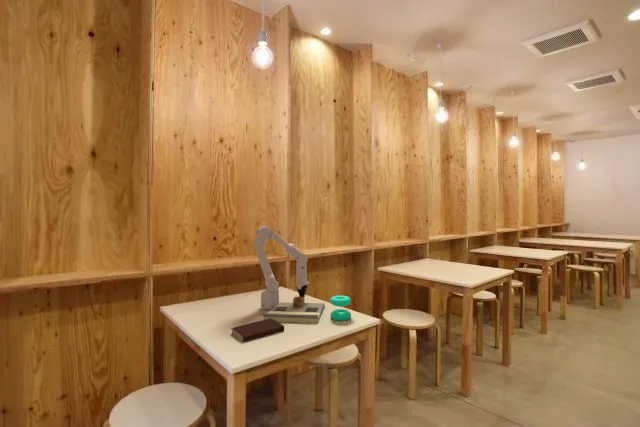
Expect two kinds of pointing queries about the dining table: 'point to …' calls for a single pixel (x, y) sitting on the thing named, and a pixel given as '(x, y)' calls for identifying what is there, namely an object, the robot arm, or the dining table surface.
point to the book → (257, 329)
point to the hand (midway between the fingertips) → (302, 299)
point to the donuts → (340, 313)
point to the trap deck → (295, 312)
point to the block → (298, 302)
